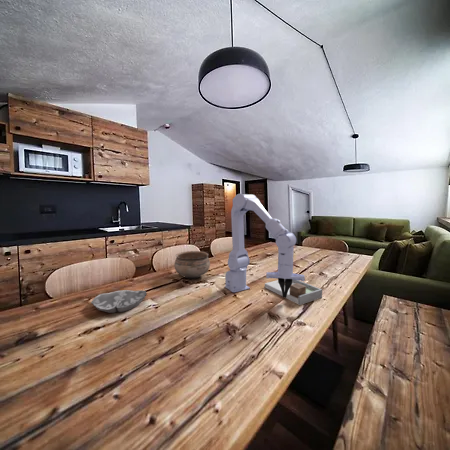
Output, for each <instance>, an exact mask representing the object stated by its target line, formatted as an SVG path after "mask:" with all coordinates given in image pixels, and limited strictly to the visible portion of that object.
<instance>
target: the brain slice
mask: <svg viewBox="0 0 450 450" xmlns="http://www.w3.org/2000/svg"><path fill="white" fill-rule="evenodd" d="M146 296H147V291H146V290H132V289H131V290H128V289H124V290H123V289H122V290H116V291H111V292H106V293H100V294H98V295H96V296H95V297H94V298H93V299H92V300H91V304H92V305H93V306H94V308H96V309H97V310H98V311H100V312H101V311H102V312H105V313H108V314H111V313H114V314H115V313H117V312H118V313H124V312H127V311H129V310H132V309H133V308H136V307H137V306H139V305H140V304H141V303H142V302H143V301H144V300H145V298H146Z"/></svg>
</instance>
